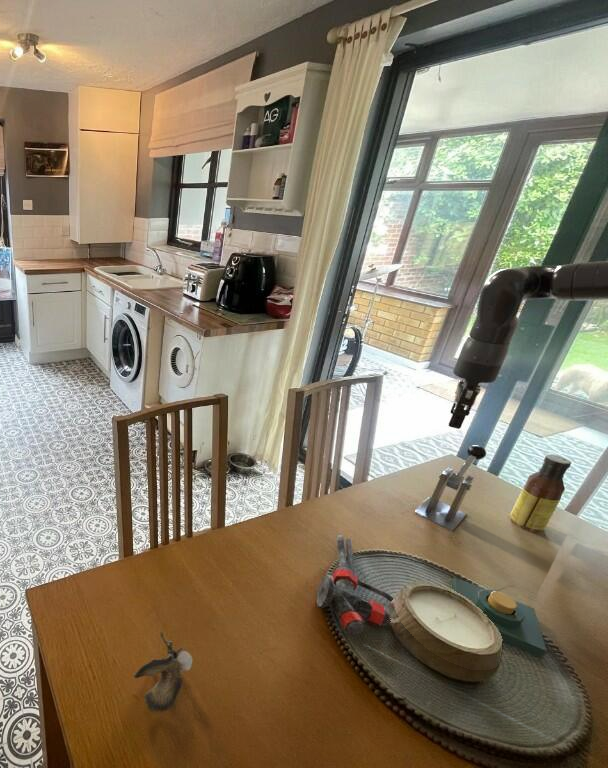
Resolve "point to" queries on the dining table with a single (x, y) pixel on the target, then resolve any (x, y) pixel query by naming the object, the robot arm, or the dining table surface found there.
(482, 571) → the dining table surface
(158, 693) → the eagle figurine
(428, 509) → the grey metal stand
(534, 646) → the green button base
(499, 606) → the button
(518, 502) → the sauce bottle
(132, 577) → the dining table surface
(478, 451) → the lever handle
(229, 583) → the dining table surface
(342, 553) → the valve
